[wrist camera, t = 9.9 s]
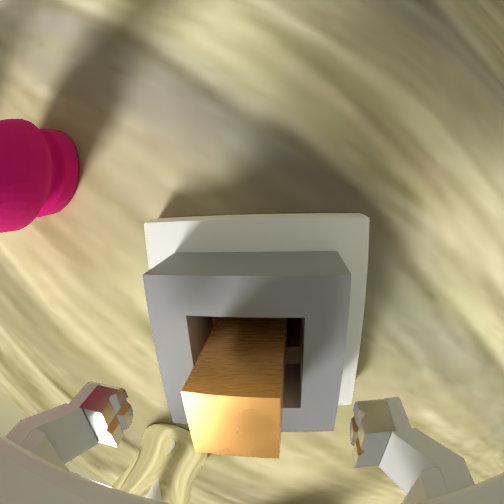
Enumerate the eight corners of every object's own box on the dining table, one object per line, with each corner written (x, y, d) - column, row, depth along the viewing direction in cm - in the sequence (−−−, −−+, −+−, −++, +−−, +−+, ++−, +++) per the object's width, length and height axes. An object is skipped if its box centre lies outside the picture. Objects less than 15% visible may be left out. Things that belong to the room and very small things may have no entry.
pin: (233, 287, 19) (180, 391, 9) (286, 287, 18) (280, 398, 9) (236, 334, 20) (195, 451, 10) (286, 334, 19) (278, 458, 10)
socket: (158, 218, 18) (105, 237, 13) (360, 213, 17) (394, 231, 11) (181, 381, 21) (152, 436, 15) (346, 386, 20) (359, 447, 14)
